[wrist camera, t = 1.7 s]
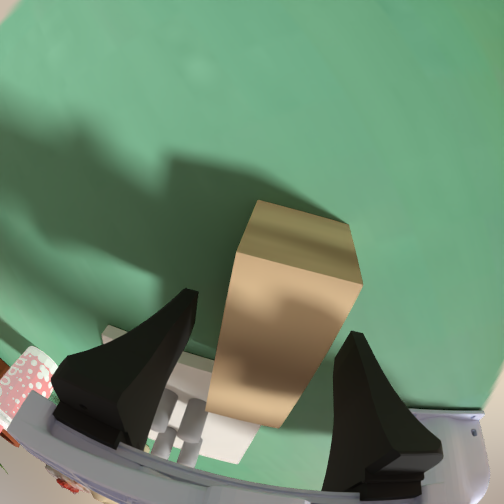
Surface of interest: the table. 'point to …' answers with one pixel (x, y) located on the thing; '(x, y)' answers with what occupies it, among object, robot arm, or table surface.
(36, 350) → the beverage cup
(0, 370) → the potted plant
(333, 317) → the tan rectangular block
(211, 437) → the peg base
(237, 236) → the table surface
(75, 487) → the food item
